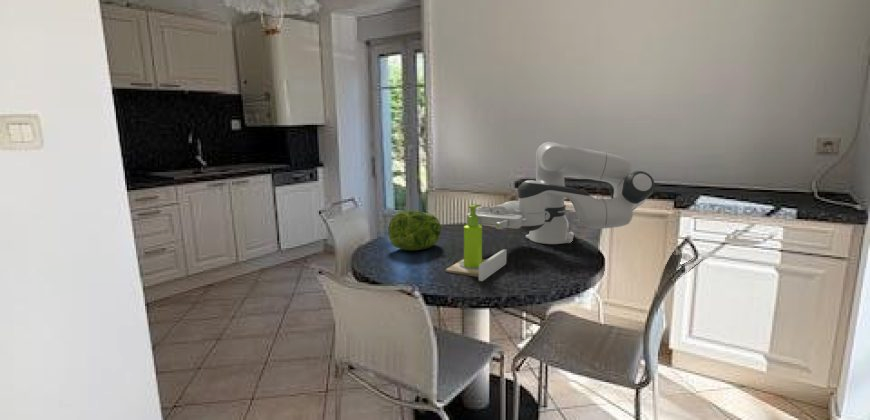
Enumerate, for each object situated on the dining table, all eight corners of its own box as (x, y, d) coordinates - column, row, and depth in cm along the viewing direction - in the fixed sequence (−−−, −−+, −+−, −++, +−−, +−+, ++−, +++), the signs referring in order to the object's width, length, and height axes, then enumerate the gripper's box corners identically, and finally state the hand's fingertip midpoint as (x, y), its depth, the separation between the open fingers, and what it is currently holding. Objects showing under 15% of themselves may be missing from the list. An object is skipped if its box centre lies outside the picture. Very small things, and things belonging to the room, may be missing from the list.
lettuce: (450, 255, 180) (453, 215, 183) (413, 248, 164) (417, 205, 167) (418, 254, 190) (422, 217, 193) (381, 248, 175) (385, 207, 177)
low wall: (502, 263, 160) (503, 249, 159) (506, 263, 160) (506, 249, 159) (478, 280, 143) (478, 264, 142) (482, 281, 142) (482, 265, 142)
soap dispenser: (485, 263, 157) (486, 204, 153) (477, 269, 151) (477, 207, 148) (470, 261, 160) (470, 202, 156) (460, 266, 154) (460, 206, 150)
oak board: (467, 259, 166) (467, 256, 165) (499, 263, 160) (499, 261, 160) (445, 271, 152) (445, 269, 152) (479, 277, 146) (479, 274, 146)
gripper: (528, 227, 169) (514, 236, 158) (476, 222, 180) (459, 230, 168) (528, 210, 168) (514, 217, 157) (476, 206, 178) (459, 212, 167)
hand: (485, 224), depth 162 cm, fingers open, 8 cm apart
